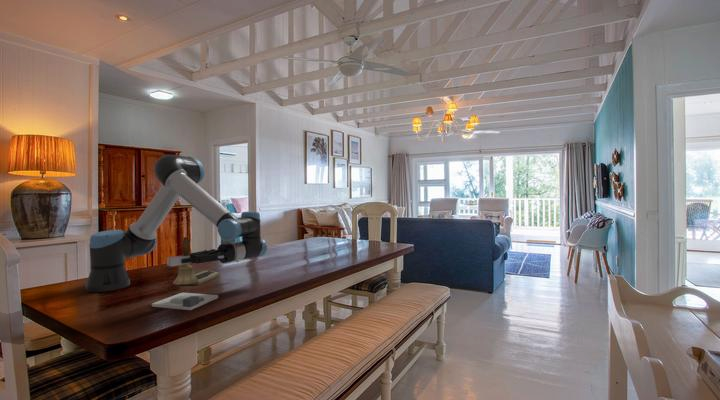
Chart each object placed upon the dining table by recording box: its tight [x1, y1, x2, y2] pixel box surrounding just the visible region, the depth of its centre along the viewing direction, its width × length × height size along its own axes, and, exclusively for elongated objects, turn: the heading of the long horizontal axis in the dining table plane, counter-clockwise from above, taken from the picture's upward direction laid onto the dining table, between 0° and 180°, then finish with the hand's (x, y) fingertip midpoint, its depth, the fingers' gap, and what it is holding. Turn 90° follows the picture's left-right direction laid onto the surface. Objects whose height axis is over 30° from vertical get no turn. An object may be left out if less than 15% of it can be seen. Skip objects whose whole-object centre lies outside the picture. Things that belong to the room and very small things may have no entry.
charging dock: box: [151, 292, 219, 311], centre depth 127 cm, size 16×14×3 cm
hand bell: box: [172, 236, 199, 286], centre depth 127 cm, size 8×8×16 cm
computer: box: [184, 270, 220, 286], centre depth 159 cm, size 16×8×3 cm, turn 169°
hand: (169, 262), depth 123 cm, fingers closed on hand bell, 2 cm apart
